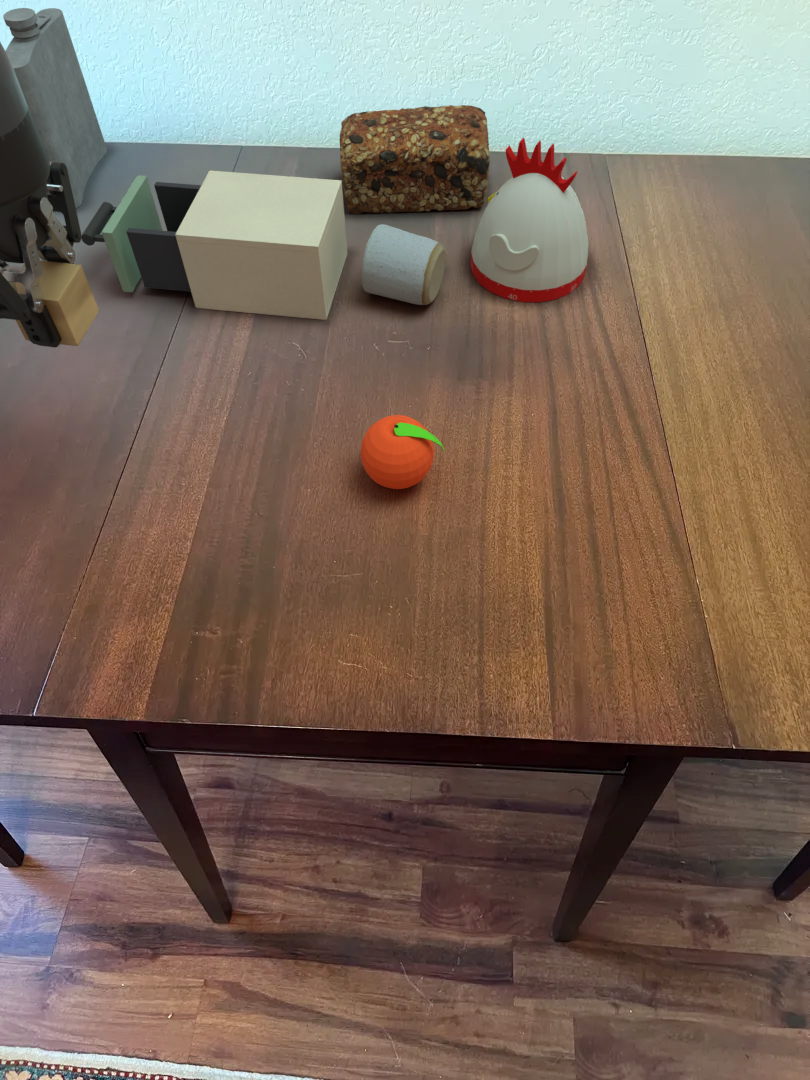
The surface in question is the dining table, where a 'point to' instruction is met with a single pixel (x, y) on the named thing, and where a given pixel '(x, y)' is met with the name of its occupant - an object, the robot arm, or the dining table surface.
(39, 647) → the dining table surface
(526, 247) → the kitchen timer
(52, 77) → the hip flask
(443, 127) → the bread
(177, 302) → the dining table surface
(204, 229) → the drawer cabinet
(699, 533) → the dining table surface
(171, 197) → the drawer
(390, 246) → the ceramic mug
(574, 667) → the dining table surface
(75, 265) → the block
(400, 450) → the clementine
